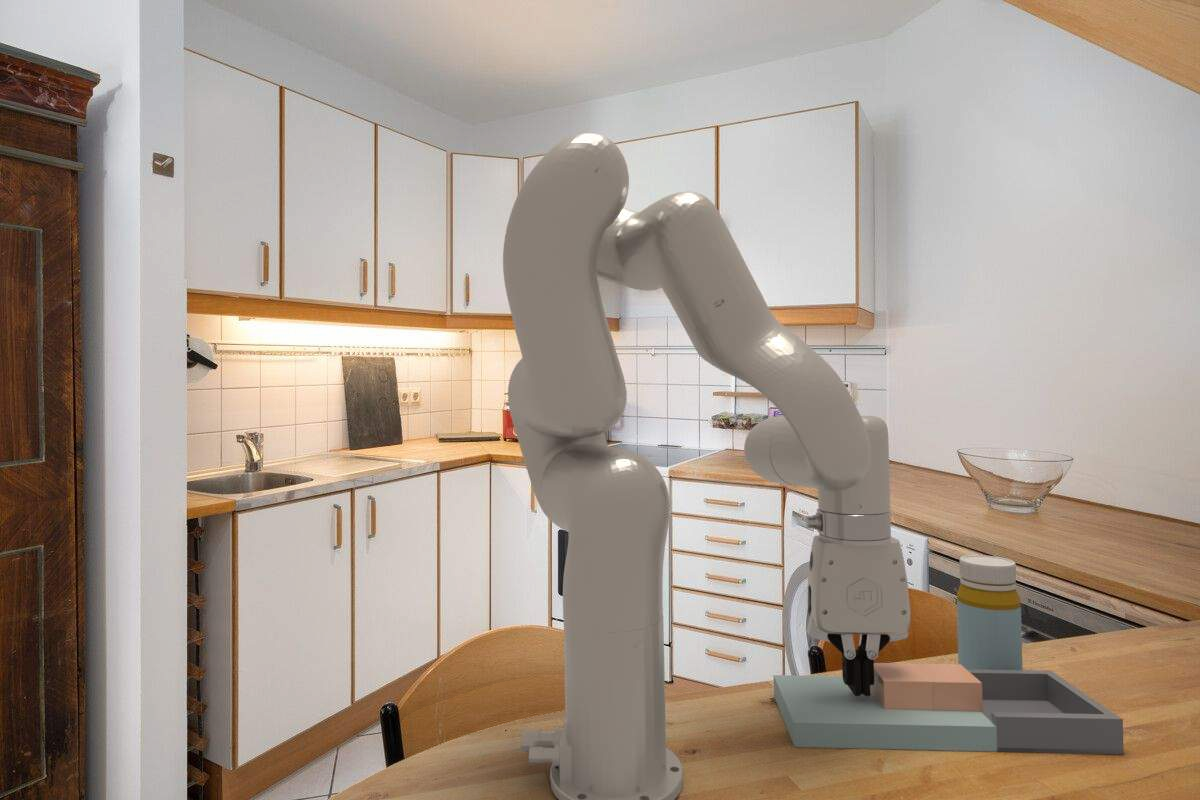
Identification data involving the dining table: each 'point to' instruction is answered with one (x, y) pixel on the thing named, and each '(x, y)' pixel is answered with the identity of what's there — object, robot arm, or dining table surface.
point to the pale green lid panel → (872, 720)
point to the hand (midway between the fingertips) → (858, 690)
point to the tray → (1046, 714)
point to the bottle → (988, 614)
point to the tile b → (953, 687)
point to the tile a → (902, 686)
